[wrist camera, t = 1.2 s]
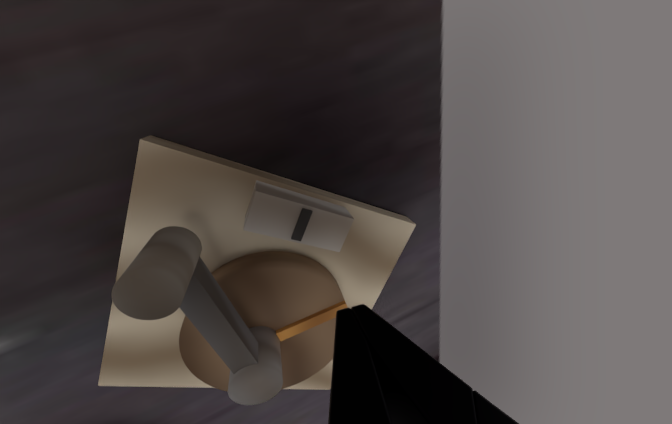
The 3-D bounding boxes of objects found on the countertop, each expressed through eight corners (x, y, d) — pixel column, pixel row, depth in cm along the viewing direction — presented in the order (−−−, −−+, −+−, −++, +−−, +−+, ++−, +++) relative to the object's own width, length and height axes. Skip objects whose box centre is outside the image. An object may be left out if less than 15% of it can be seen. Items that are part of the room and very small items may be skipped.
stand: (326, 374, 26) (335, 413, 23) (108, 366, 20) (79, 419, 17) (406, 216, 21) (432, 238, 18) (150, 135, 15) (119, 146, 12)
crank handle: (233, 388, 22) (222, 499, 16) (101, 233, 14) (-11, 328, 9) (357, 332, 23) (391, 416, 17) (289, 162, 16) (307, 203, 10)
